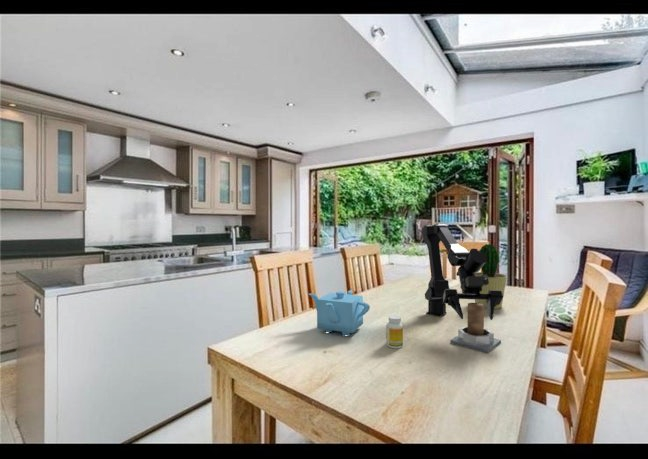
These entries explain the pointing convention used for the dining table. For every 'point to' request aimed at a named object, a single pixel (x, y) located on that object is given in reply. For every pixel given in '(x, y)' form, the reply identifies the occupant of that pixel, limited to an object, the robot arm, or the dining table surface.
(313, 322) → the dining table surface
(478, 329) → the peg
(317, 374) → the dining table surface
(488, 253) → the potted cactus
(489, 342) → the dock
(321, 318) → the teakettle
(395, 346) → the supplement bottle
